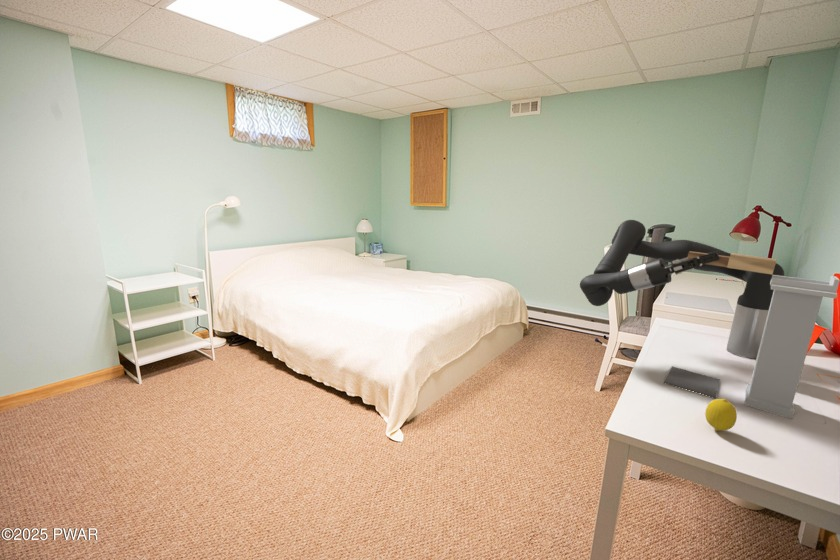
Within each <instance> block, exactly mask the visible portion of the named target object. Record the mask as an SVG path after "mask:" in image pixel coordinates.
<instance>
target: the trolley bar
mask: <svg viewBox="0 0 840 560" xmlns="http://www.w3.org/2000/svg"><path fill="white" fill-rule="evenodd" d="M703 255H707V253H700V252H692V251H690V252H689V253H688V258H690V259H692V258H695V257H697V256H698V257H699V256H703ZM700 258H701V257H700ZM691 262H692V261H691ZM776 263H777V259H776V258H771V257H770V258H769V257H762V256H756V255H748V254H741V253H732V252H731V254H730V257H729V256H722V255H719V260H716V261H713V262H709V263H706V264H709V265H715V266H722V267H727V268H733V269H739V270H746V271H752V272H759V273H765V274H773V271H774V268H775V264H776Z"/></svg>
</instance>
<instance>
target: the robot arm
mask: <svg viewBox="0 0 840 560" xmlns="http://www.w3.org/2000/svg"><path fill="white" fill-rule="evenodd" d="M646 229H647V228H646V226H645V225H644V224H643V223H642V222H641V221H639V220H636V219H628V220H625V221H622V222H621V223H620V225H618V227H617V229H616V231H615V233H614V235H613V237H612V240H611V245H610V247H609V248H608V250H607V252H606V253H605V254H604V255H603V257H602V259H601V260H600V261H599V263H598V265H597V266H596V267H595V269H594V271H593V273H592V274H589V275H586V276H584V277H583V278H582V279H581V280H580V283H579V287H580V289H581V291H582V294H584V296H585V298H586V299H587V301H588V303H590V305H592V306H594V307H600V306H601V307H602V306H603V305H605V304H606V303H608V302H610V299H611V298H612V296H613V293H614V291H615V292H616V293H617V294H618V295H623V294H627V293H632V292H636V291H640V290H645V289H647V290H648V289H650V288H653V287H657V286H662V285H665V284H669V283H671V282H672V275H671V274H675V275H676V276H678V275H680V274H682V273H685V272H687V271H688V272H689V271H692V270H696V271H697V270H698V271H703V272H709V273H710V272H712V273H718V274H723V275H727V276H730V277H732V278H735V279H739V280H741V281H743V282H746V284H745V288H744V290H743V293H742V294H740V295H739V296H738V298H737V300H736V301H737V302H736V304H735V305H736V306H735V310H734V314H733V315H734V316H733V319H732V323H731V327H730V331H729V336H728V340H727V343H726V348H725V349H726V351H727V352H729V353H731V354H733V355H735V356H739V357H742V358H747V359H757V355H758V351H759V347H760V343H761V339H762V335H763V331H764V327H765V323H766V319H767V315H768V311H769V307H770V303H771V299H772V295H773V291H774V290H772V289H771V286H770V281H771V279H772V275H778V276H785V271H784V268H783V267H782V266H781V265H780V264H779V263H777V262H776V264H775V268H774V271H773V274H765V273H759V272H752V271H746V270H739V269H733V268H727V267H722V266H715V265H709V264H706V263H709V262H713V261H716V260H719V255H722V256H729V257H730V254H731V253H732V252H731V253H730V252H727V251H724V250H722V249H720V248H718V247H715V246H711V245H708V244H704V243H701V242H697V241H693V240H689V239H688V240H687V239H677V240H676V239H675V240H668V241H662V242H661V241H660V242H653V241H647V240H644V238H645V235H646V231H647V230H646ZM690 251H692V252H700V253H707V255H703V256H699V257H698V256H697V257H695V258H692V259H690V258H688V253H689V252H690ZM629 255H634V256H641V257H644V258H645V257H646V258H651V259H654V260H649V261H647V262H643V263H640V264H637V265H635V266H633V267H630V268H627V269H623V266H624V264H625V262H626V260H627V259H628V256H629ZM700 257H701V258H700ZM691 261H692V262H691ZM666 262H667V263H669V264H667V263H666ZM622 269H623V270H622Z"/></svg>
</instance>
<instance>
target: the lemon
mask: <svg viewBox="0 0 840 560" xmlns="http://www.w3.org/2000/svg"><path fill="white" fill-rule="evenodd" d="M704 415H705V420H706V421H707V423H708V424H709V425H710V426H711V427H712V428H713V429H714V430H715V431H717V432H720V431H728V430H731V429H732V428H733V427H734V426H735V424H736V422H737V415H738V414H737V410H736V407H735V406H734V405H733V404H732V402H730V401H728V400H727V399H726V398H716V399H715V398H714V399H713V400H711V401H710V402H709V403H708V404H707V406H706V409H705V413H704Z"/></svg>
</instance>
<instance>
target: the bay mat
mask: <svg viewBox="0 0 840 560" xmlns="http://www.w3.org/2000/svg"><path fill="white" fill-rule="evenodd" d="M720 380H721V379H720V378H717V377H712V376H709V375H706V374H702V373H697V372H694V371H691V370H686V369H684V368H680V367H676V366H671V367H670V369H669V371H668V373H667V375H666V377H665V378H664V381H663V384H665V383H666V385H669V386H671V387H675V386H677V387H676V388H678V387H680V388H679V389H682V388H683V390H685V389H687V390H686V391H688V390H690V391H689V392H692V391H694V392H693V393H695V392H697V393H696V394H698V393H701V394H700V395H702V394H704V395H703V396H705V395H707V397H708V396H710V397H709V398H712V397H713V398H712V399H714V400H715V399H717V393H718V390H719V385H720Z"/></svg>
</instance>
